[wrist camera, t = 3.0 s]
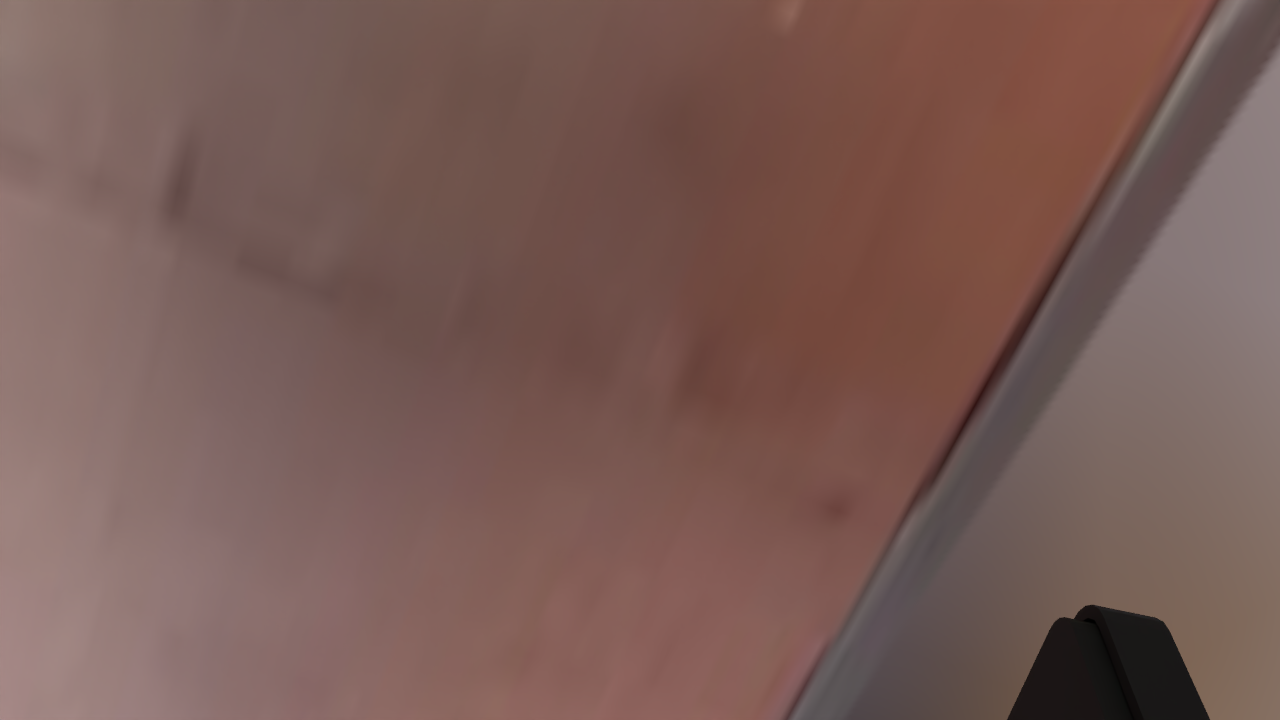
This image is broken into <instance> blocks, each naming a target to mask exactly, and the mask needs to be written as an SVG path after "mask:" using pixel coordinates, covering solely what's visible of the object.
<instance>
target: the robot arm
mask: <svg viewBox="0 0 1280 720" xmlns="http://www.w3.org/2000/svg"><path fill="white" fill-rule="evenodd" d="M1007 720H1210V719H1209V716H1208V714H1207V712H1206V710H1205V708H1204V705H1203V703H1202V701H1201V699H1200V697H1199V695H1198V692H1197V690H1196V688H1195V686H1194V684H1193V681H1192V679H1191V677H1190V675H1189V672H1188V671H1187V668H1186V666H1185V664H1184V662H1183V659H1182V657H1181V655H1180V653H1179V651H1178V648H1177V646H1176V644H1175V642H1174V640H1173V638H1172V635H1171V633H1170V631H1169V629H1168V628H1167V627H1166V625H1165V623H1164V622H1163V621H1160V620H1159V619H1157V618H1154V617H1150V616H1145V615H1140V614H1135V613H1130V612H1125V611H1120V610H1115V609H1110V608H1106V607H1101V606H1096V605H1088V606H1085V607H1084V608H1082V609H1081V610H1080V611H1079V612H1078V613H1077V615H1076V617H1075V618H1074V619H1070V618H1065V617H1064V618H1059V619H1058V620H1057V621H1055V622H1054V624H1053V625H1052V627H1051V629H1050V630H1049V633H1048V635H1047V637H1046V639H1045V641H1044V643H1043V646H1042V647H1041V649H1040V652H1039V654H1038V656H1037V658H1036V660H1035V662H1034V664H1033V667H1032V669H1031V671H1030V673H1029V675H1028V677H1027V679H1026V681H1025V683H1024V685H1023V687H1022V689H1021V692H1020V694H1019V696H1018V698H1017V700H1016V702H1015V704H1014V706H1013V708H1012V711H1011V713H1010V715H1009V717H1008V719H1007Z"/></svg>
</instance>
